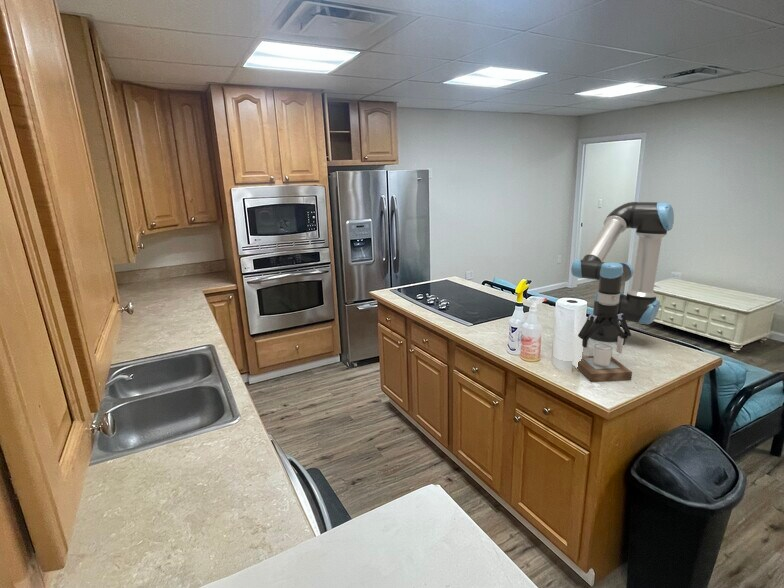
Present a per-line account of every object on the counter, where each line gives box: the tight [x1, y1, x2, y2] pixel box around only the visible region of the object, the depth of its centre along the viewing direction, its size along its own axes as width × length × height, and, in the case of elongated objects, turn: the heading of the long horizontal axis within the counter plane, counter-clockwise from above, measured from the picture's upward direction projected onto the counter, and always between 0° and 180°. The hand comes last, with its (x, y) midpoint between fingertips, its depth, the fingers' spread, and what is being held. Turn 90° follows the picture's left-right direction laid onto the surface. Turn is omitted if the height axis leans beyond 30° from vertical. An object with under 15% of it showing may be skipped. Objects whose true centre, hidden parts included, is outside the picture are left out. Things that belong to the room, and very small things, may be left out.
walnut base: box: [576, 355, 633, 383], centre depth 169 cm, size 16×16×4 cm
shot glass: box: [593, 343, 614, 366], centre depth 168 cm, size 7×7×7 cm
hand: (602, 353), depth 168 cm, fingers open, 13 cm apart
